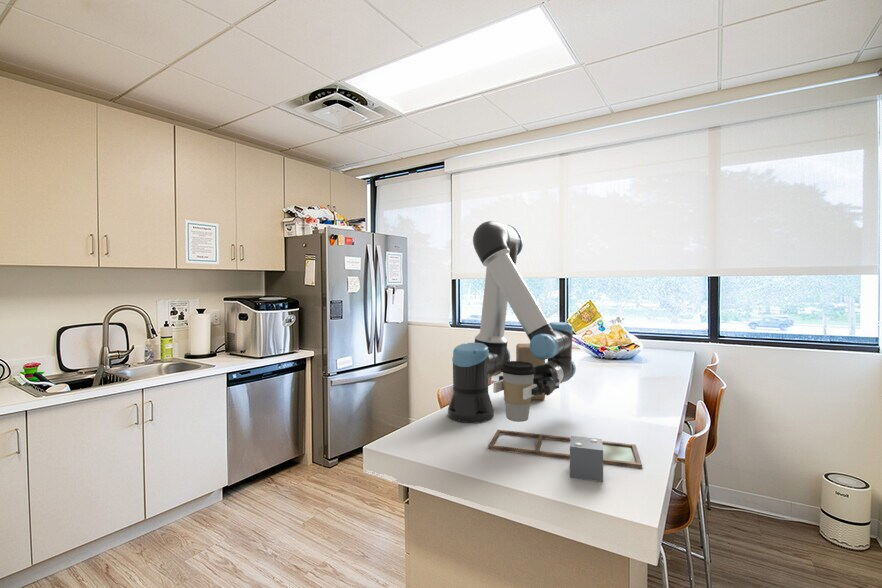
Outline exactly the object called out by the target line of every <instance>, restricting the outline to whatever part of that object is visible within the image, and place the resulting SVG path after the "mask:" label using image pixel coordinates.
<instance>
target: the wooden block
mask: <svg viewBox="0 0 882 588" xmlns="http://www.w3.org/2000/svg"><path fill="white" fill-rule="evenodd" d="M515 348H516V349H515V355H516V358H515V361H522V362H528V363H531V364H533V368H534V367H535V366H538V365H541V364H543V363H546V359H544V360H542V359H538V358H536V357H535V356H534V355H533V354H532V353H531V351H530V343H517V344H516V346H515ZM545 399H546V395H545V393H542V394H541V395H539V394H537V395H534V396H532V398H531V401H532V400H533V401H544V400H545Z"/></svg>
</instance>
